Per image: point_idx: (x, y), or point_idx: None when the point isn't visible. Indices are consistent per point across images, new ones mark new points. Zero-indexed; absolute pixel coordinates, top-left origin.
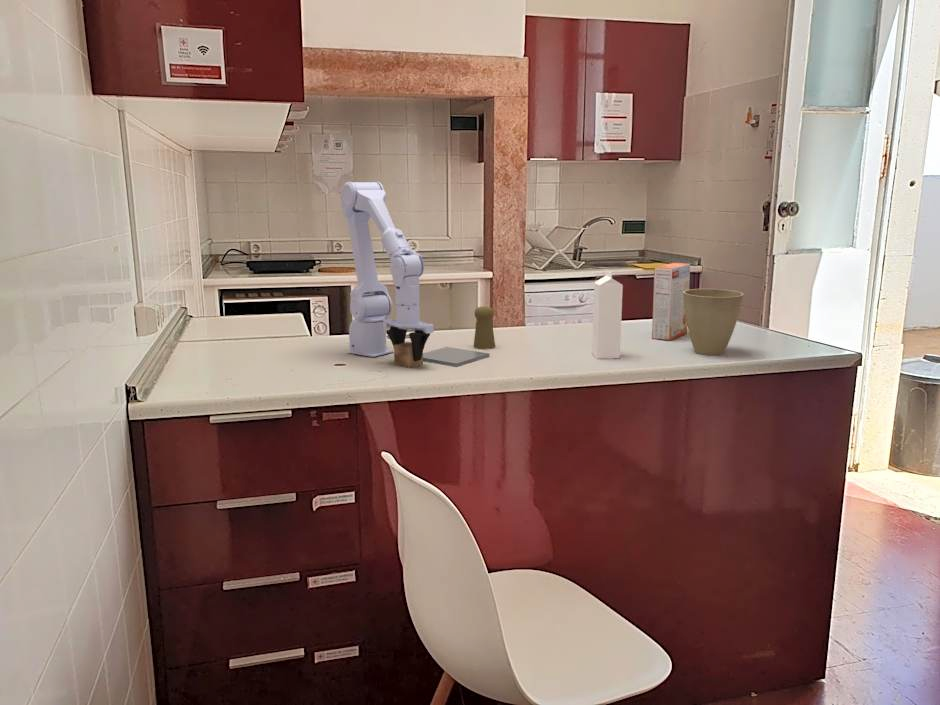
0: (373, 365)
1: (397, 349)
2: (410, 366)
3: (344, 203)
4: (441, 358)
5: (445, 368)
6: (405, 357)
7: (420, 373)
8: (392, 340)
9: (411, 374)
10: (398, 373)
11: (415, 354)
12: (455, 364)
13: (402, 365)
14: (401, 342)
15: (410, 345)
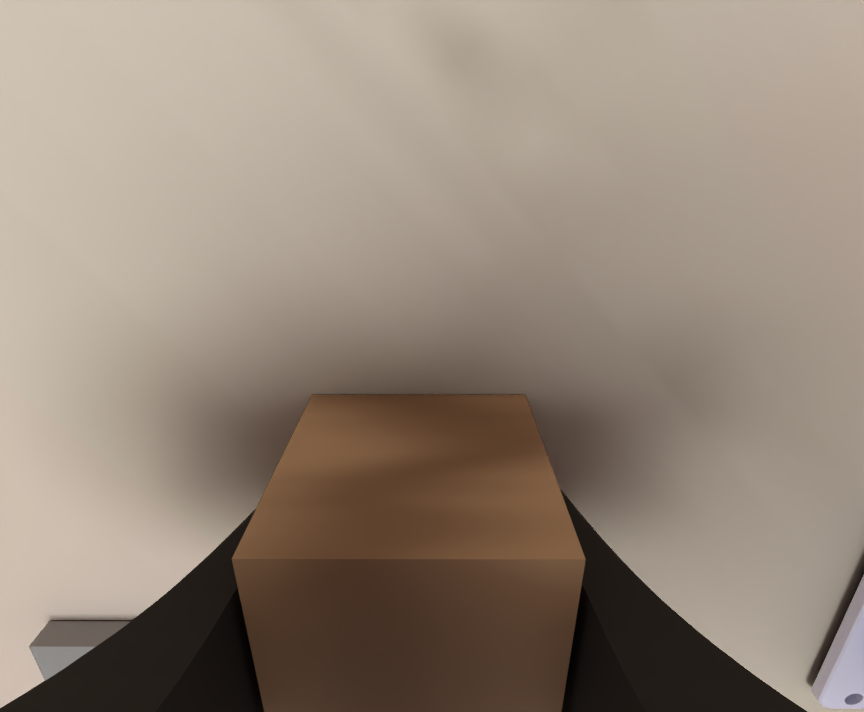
0: (723, 251)
1: (498, 512)
2: (308, 408)
3: None
4: None
5: (60, 544)
6: (354, 453)
7: (35, 279)
8: (678, 651)
9: (57, 181)
10: (203, 121)
11: (234, 533)
12: (49, 637)
13: (411, 398)
14: (575, 703)
15: (344, 657)
